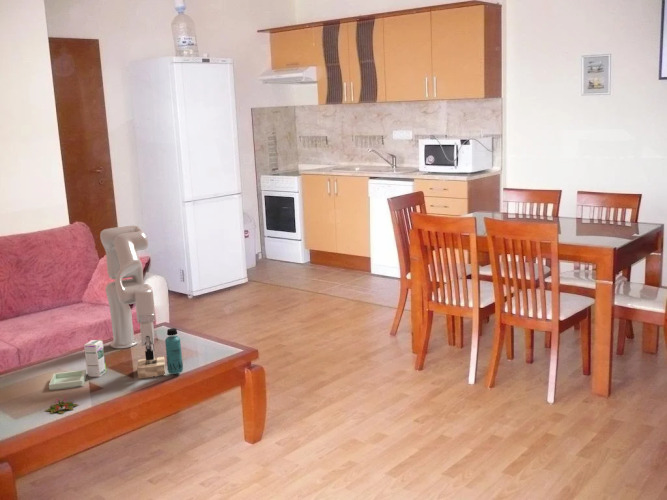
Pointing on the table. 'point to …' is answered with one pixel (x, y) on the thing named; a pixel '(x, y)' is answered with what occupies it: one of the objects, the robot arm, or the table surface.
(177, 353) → the beverage bottle
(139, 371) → the bore block
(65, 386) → the tray
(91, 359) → the syrup box
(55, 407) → the lily flower
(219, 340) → the table surface
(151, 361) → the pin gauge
